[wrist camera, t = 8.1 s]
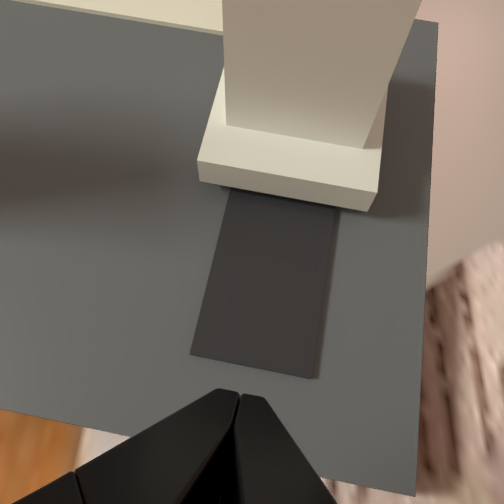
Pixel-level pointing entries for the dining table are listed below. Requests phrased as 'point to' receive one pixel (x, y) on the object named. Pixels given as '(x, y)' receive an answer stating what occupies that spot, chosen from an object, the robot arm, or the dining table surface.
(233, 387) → the switch board
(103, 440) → the dining table surface
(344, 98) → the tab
